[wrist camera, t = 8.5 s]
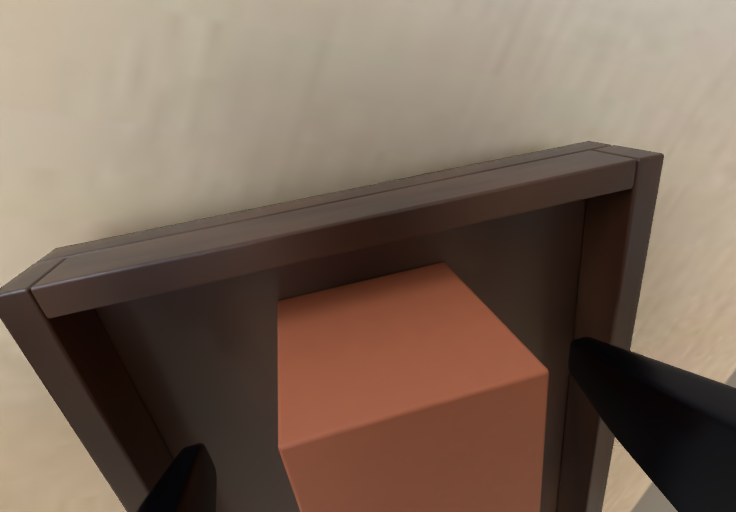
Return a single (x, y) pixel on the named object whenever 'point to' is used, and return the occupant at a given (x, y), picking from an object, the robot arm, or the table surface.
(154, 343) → the tray
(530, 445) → the block
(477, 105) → the table surface
